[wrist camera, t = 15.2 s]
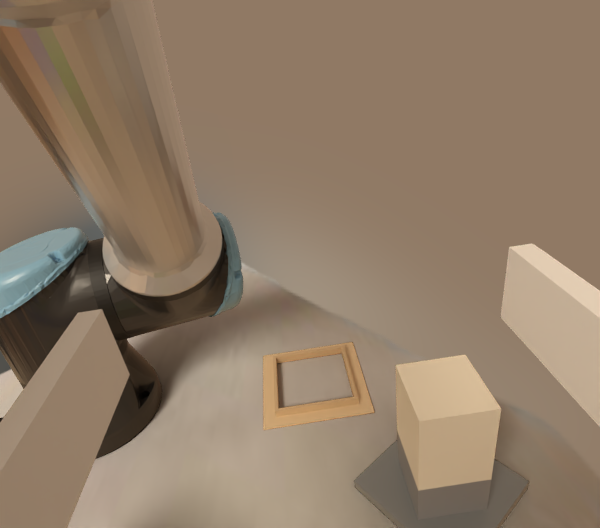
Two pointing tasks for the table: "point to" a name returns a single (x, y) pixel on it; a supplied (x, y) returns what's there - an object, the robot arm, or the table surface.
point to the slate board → (476, 524)
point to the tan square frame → (318, 410)
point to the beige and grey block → (445, 435)
